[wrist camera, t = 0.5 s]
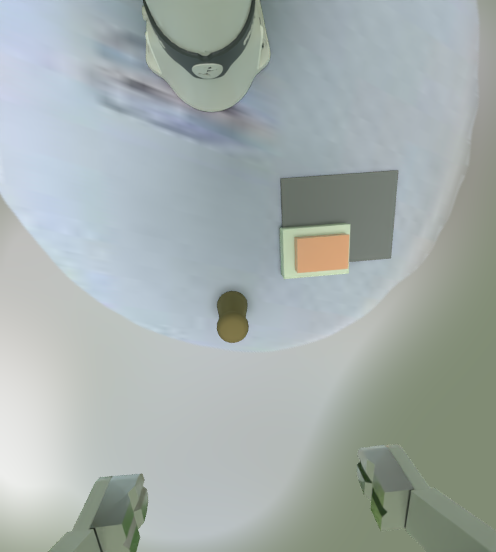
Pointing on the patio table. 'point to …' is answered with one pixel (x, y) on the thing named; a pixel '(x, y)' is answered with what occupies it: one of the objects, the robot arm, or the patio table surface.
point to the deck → (291, 232)
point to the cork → (232, 317)
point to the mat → (346, 208)
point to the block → (321, 252)
